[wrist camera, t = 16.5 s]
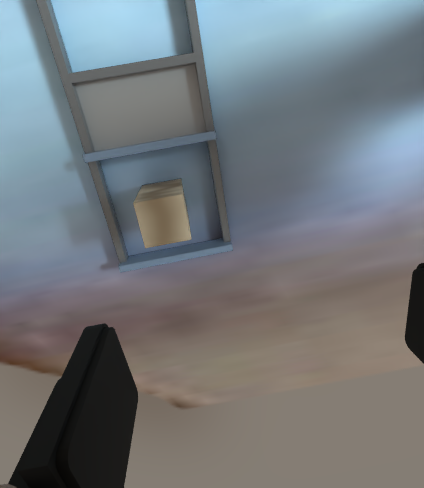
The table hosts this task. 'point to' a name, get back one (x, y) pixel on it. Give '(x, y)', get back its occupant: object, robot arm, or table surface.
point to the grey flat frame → (142, 123)
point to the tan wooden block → (162, 213)
